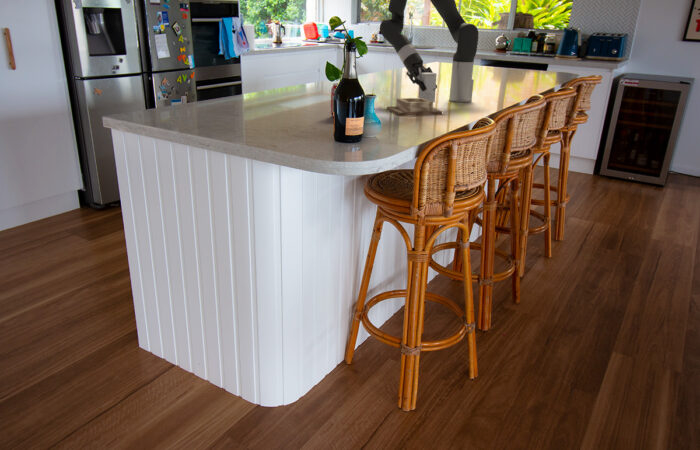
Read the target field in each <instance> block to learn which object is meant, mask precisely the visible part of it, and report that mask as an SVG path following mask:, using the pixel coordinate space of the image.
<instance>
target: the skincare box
mask: <svg viewBox="0 0 700 450" xmlns="http://www.w3.org/2000/svg"><path fill="white" fill-rule="evenodd" d="M420 74H421V76H422V77H421V79H422V81H423V83H424V84H425V86H426V87H427V89H426V90H425V91H422V90H421V88H420V87H419V86H418V96H417V98H423V99H426V100H429V101H431V102H433V103H435V102H436V101H435V100H436V91H437V90H436V89H437V88H436V85H437V72H433V73H420Z"/></svg>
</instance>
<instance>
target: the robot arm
mask: <svg viewBox="0 0 700 450" xmlns="http://www.w3.org/2000/svg"><path fill="white" fill-rule="evenodd" d="M429 1H430V3H432V5H433V7H434V8H435V10H436V12H437V13H438V14H439V16H440V17H441V18H442V20H443V22H444V23H445V25H446V26H447V29H448V32H449V33H450V35H451V37H452V39H453V41H454V42H455V43H456V44H457V47H456V50H455V53H454V54H453V55H452V66H451V76H450V77H451V78H450V88H449V89H450V90H449V99H448V100H449V101H451V102H457V103H458V102H459V103H465V102H466V103H467V102H472V101H473V90H474V81H475V80H474V79H473V75H474V74H473V73H474V62H475V61H474V60H475V57H476V55H477V50H478V43H479V30H478V28H477V26H476V25H475V24H473V23H468V22H467V21H466V20H465V19H464V18H463V17H462V14H461V13H460V12H459V10H458V7H457V4H456V0H429ZM407 2H408V0H389V4H388V8H387V9H388V10H387V11H388V12H389V13H391V18H390V19H389V18H385V19H383V20H382V21H380V25H379V31H380V34H381V35H382V37H384V39H385V40H386V41H387V42H388V43H389V45H391V46H392V47H393V49H394V50H395V52H396V53H397V55H398V57H399V59H400V61H401V62H402V63H403V65H404V67H405V69H406V70H407V71H406V76H408V78H409V79H410V81H411V82H412V84H413V85H415V84H416V85H418V88H419V87H420V88H421V90H422V91H425V90H426V89H427V87H426V86H425V84H424V83H423V81H422V79H421V77H422V76H421V74H420V73H434V71H433V70H432V69H431V67H430V66H428V67H425V66H424V60H423V58H422V57H421V55H420V54H419V52H418V50H417V49H416V48H415V47H414V45H413V44H412V42H411V41H410V39H409V38H408V37H407V36H406V35H405V34H402V32H403V30H404V23H405V22H404V21H405V9H406V5H407V4H408V3H407ZM437 88H438V84H436V89H437Z"/></svg>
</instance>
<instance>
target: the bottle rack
mask: <svg viewBox="0 0 700 450" xmlns="http://www.w3.org/2000/svg"><path fill="white" fill-rule="evenodd" d="M395 105H396V106H386V111H388V110H389V111H388V112H390V111H391V113H392V112H393V113H392V114H394V113H395V114H394V115H396V114H397V115H396V116H399V117H405V115H413V116H436V115H437V116H439V115H441V116H442V115H443V111H442V110H439V109H437V108H434V107H433V105H434V102H431V101H429V100H426V99H423V98H418V97H409V98H407V97H406V98H405V97H404V98H403V97H401V98H400V97H399V98H396V104H395Z"/></svg>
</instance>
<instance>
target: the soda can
mask: <svg viewBox="0 0 700 450" xmlns="http://www.w3.org/2000/svg"><path fill="white" fill-rule="evenodd" d="M338 83H339V82H337V83H333V84H332V87H331V89H330V91H331V92H330V111H331V112H330V113H331V116H332V117H334V116H333V96H334V92H335V89H336V87H337V85H338Z"/></svg>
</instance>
